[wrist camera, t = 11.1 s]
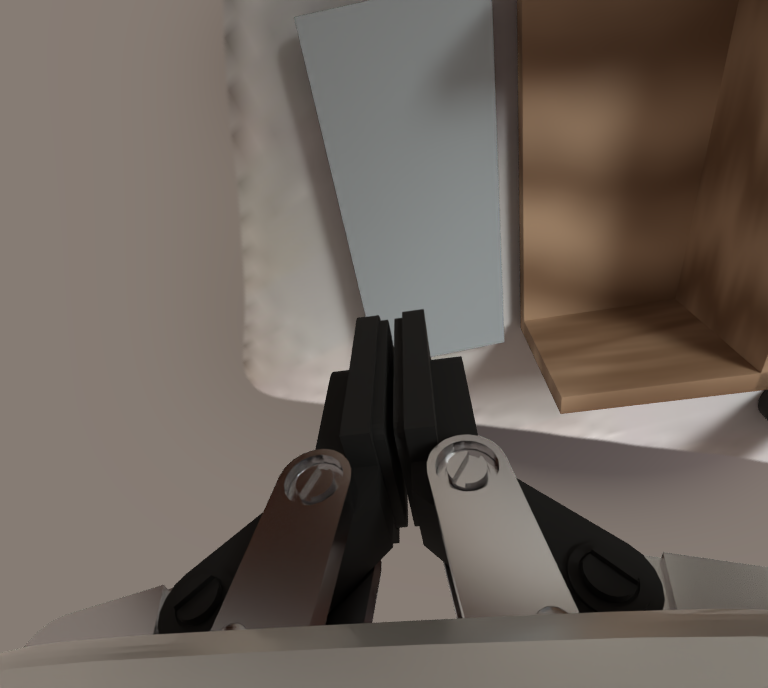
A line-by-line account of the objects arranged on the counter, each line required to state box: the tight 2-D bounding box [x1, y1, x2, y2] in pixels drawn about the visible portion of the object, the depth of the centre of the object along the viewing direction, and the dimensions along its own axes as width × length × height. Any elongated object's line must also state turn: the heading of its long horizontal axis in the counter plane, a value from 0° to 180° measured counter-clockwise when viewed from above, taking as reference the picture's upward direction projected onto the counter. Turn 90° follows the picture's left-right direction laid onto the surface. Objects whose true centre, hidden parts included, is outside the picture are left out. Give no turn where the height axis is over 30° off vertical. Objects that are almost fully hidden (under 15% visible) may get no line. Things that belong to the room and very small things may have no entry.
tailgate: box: [294, 0, 504, 357], centre depth 25 cm, size 20×1×9 cm
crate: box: [517, 0, 768, 414], centre depth 21 cm, size 20×11×9 cm, turn 10°
